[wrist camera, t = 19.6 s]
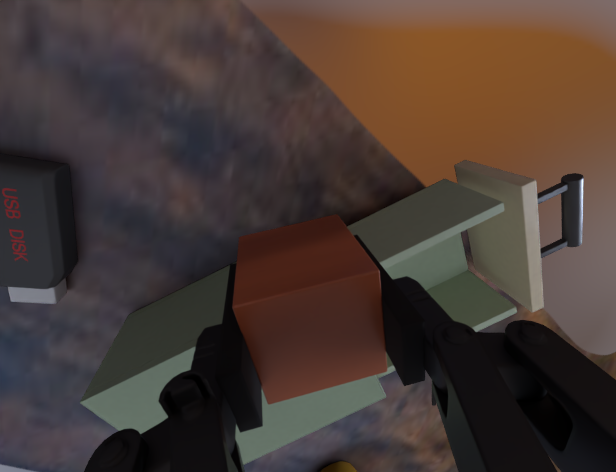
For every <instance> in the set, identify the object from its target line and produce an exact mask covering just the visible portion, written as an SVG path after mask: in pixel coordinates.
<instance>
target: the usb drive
mask: <svg viewBox="0 0 616 472" xmlns="http://www.w3.org/2000/svg"><path fill="white" fill-rule="evenodd" d="M77 262H78V257H77V246H76V235H75V224H74V213H73V202H72V191H71V180H70V170H69V165H68V164H63V163H57V162H51V161H44V160H38V159H32V158H26V157H19V156H13V155H7V154H1V153H0V286H4V287H8V290H9V295H10V300H11V301H12V302H29V303H46V304H56V303H58V302H59V300H60V299H61V298H62V297H63V296H64V295H65V294H66V293H67V287H66V277H67V276H68V275H69V274H70V273H71V272H72V270H73V268H74V267H75V265H76V264H77Z"/></svg>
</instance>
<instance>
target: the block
mask: <svg viewBox="0 0 616 472" xmlns="http://www.w3.org/2000/svg"><path fill="white" fill-rule="evenodd" d="M232 309H233V311H234V314H235V317H236V319H237V322H238V325H239V328H240V330H241V333H242V334H243V337H244V339H245V342H246V345H247V348H248V350H249V353H250V356H251V359H252V361H253V364H254V367H255V370H256V372H257V375H258V378H259V381H260V383H261V386H262V390H263V393H264V396H265V398H266V401H267V403H268V404H269V405H270V404H274V403H277V402H281V401H284V400H288V399H291V398H295V397H299V396H302V395H306V394H309V393H313V392H317V391H320V390H324V389H327V388H331V387H334V386H338V385H342V384H345V383H349V382H352V381H356V380H359V379H363V378H367V377H370V376H374V375H377V374H381V373H384V372H387V371H388V370H387V356H386V345H385V332H384V319H383V306H382V293H381V280H380V270H379V269H378V268H377V266H376V265H375V264H374V262H373V261H372V260H371V258H370V257H369V256H368V254H367V253H366V252H365V250H364V249H363V248H362V246H361V245H360V244H359V242H358V241H357V240H356V238H355V237H354V236H353V234H352V233H351V232H350V230H349V229H348V228H347V226H346V225H345V224H344V222H343V221H342V220H341V219H340V217H339V216H338V215H337V214H336V215H331V216H327V217H323V218H318V219H314V220H310V221H306V222H301V223H297V224H293V225H288V226H284V227H280V228H275V229H271V230H267V231H262V232H258V233H254V234H249V235H245V236H241V237H239V244H238V254H237V264H236V274H235V285H234V295H233V305H232Z"/></svg>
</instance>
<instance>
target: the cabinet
mask: <svg viewBox="0 0 616 472" xmlns="http://www.w3.org/2000/svg"><path fill="white" fill-rule="evenodd" d="M235 263H237V262H235ZM233 264H234V263H233ZM229 269H230V265H229V266H227V267H225V268H223V269H221V270H219V271H217V272H215V273H213V274H211V275H209V276H207V277H204V278H202V279H200V280H198V281H196V282H194V283H192V284H190V285H188V286H186V287H184V288H182V289H180V290H178V291H176V292H174V293H172V294H170V295H168V296H166V297H164V298H162V299H160V300H158V301H156V302H154V303H152V304H150V305H148V306H146V307H144V308H142V309H140V310H138V311H135V312H133V313H131V314H129V315H128V317H127V319H126V320H125V322H124V324H123V326H122V328H121V329H120V331H119V333H118V335H117V337H116V338H115V340H114V342H113V344H112V346H111V347H110V349H109V351H108V353H107V355H106V356H105V358H104V360H103V362H102V364H101V365H100V367H99V369H98V371H97V373H96V374H95V376H94V378H93V380H92V382H91V383H90V385H89V387H88V389H87V390H86V393H85V394H84V396H83V398H82V399H81V401H80V403H81V404H82V405H84V406H85V407H86V408H88V409H89V410H91V411H92V412H93V413H95V414H96V415H98V416H99V417H100V418H102V419H103V420H105V421H106V422H107V423H109V424H110V425H112V426H113V427H114V428H116V429H117V430H119V431H120V430H123V429H129V428H133V429H135V430H137V431H138V432H139V433H140V434H142V433H143V432H145V431H147V430H149V429H150V428H152V427H154V426H156V425H157V424H159V423H161V422H162V421H164V420H165V419H167V418H168V416H167V414H166V413H165V411H164V410H163V408H162V406H161V405H160V403H159V401H158V400H159V396H160V393H161V391H162V390H163V388H164V387H165V385H166V384H167V383H168V382H169V381H170V380H171V379H172V378H173V377H175V376H177V375H178V374H180V373H182V372H185V371H188V370H190V369H191V364H192V360H193V356H194V351H195V347H196V343H197V338H198V337H199V336H200V334H201V333H202V331H203V330H204V328H206V327H210V326H214V325H218V324H222V320H223V313H224V305H225V298H226V291H227V283H228V276H229ZM383 398H386V395H385V393H384V391H383V388H382V386H381V384H380V382H379V380H378V379H377V377H376V375H374V376H370V377H367V378H363V379H359V380H356V381H352V382H349V383H345V384H342V385H338V386H334V387H331V388H327V389H324V390H320V391H317V392H313V393H309V394H306V395H302V396H299V397H295V398H291V399H288V400H284V401H281V402H277V403H274V404H270V405H269V404H268V403H267V401H266V398H265V396H264V393H263V390H262V417H263V426H262V427H259V428H255V429H252V430H248V431H245V432H241V433H240V431H239V429H238V427H237V424H236V436H235V439H236V441H237V443H238V445H239V448H240V453H241V457H242V462H243V465H244V464H246V463H248V462H251V461H253V460H255V459H257V458H259V457H261V456H263V455H265V454H267V453H270V452H272V451H274V450H276V449H278V448H280V447H282V446H284V445H286V444H289V443H291V442H293V441H295V440H297V439H299V438H301V437H303V436H305V435H307V434H310V433H312V432H314V431H316V430H318V429H320V428H322V427H324V426H326V425H329V424H331V423H333V422H335V421H337V420H339V419H341V418H343V417H345V416H348V415H350V414H352V413H354V412H356V411H358V410H360V409H362V408H364V407H367V406H369V405H371V404H373V403H375V402H377V401H379V400H381V399H383Z"/></svg>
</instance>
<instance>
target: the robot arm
mask: <svg viewBox="0 0 616 472" xmlns="http://www.w3.org/2000/svg"><path fill="white" fill-rule="evenodd" d="M353 236H354V237H355V238H356V240H357V241H358V242H359V244H360V245H361V246H362V248H363V249H364V250H365V252H366V253H367V254H368V256H369V257H370V258H371V260H372V261H373V262H374V264H375V265H376V266H377V268H378V269H379V270H380V280H381V293H382V306H383V319H384V332H385V345H386V352H387V354H388V356H389V358H390V360H391V362H392V364H393V366H394V367H395V369H396V371H397V373H398V375H399V377H400V379H401V381H402V382H403V384H404V386H406V385H410V384H414V383H417V382H421V381H424V380H425V370H426V371H427V373H428V374H429V376H430V378H431V379H432V405H436V403H437V406H438V409H439V412H440V415H441V419H442V422H443V425H444V428H445V431H446V434H447V437H448V440H449V443H450V446H451V449H452V453H453V456H454V459H455V462H456V465H457V468H458V471H459V472H557V470H556V469H555V467H554V465H553V463H552V462H551V460H550V458H551V459H552V461H553V462H554V463H555V464H556V465H557V467H558V468H559V469H560V470H561V472H616V380H615V379H614V378H612V377H611V376H610V375H609V374H607V373H606V372H605V371H604V370H602V369H601V368H600V367H598V366H597V365H596V364H595V363H593V362H592V361H591V360H589V359H588V358H587V357H586V356H584V355H583V354H582V353H580V352H579V351H578V350H577V349H575V348H574V347H573V346H571V345H570V344H569V343H568V342H566V341H565V340H564V339H562V338H561V337H560V336H559V335H557V334H556V333H555V332H553V331H552V330H551V329H549V328H547V327H546V326H544V325H542V324H539V323H536V322H533V321H526V320H519V321H513V322H511V323H509V324H508V325H507V327H506V329H505V333H483V332H475V331H474V329H473V328H471V327H469V326H468V325H466V324H464V323H460V322H457V321H454V320H453V319H452V318H451V317H450V316H449V315H448V314H447V313H446V312H445V311H444V310H443V308H442V307H441V306H440V305H439V304H438V303H437V302H436V301H435V300H434V299H433V298H432V297H431V295H430V294H429V293H428V292H427V291H425V289H424V288H423V287H422V286H421V284H420V283H419V282H418V281H416V280H414V279H412V278H410V277H408V276H405V277H401V278H397V279H392V278H391V277H390V276H389V274H388V273H387V272H386V270H385V269H384V268H383V267H382V265H381V264H380V263H379V262H378V260H377V259H376V258H375V256H374V255H373V254H372V253H371V251H370V250H369V249H368V248H367V246H366V245H365V244H364V242H363V241H362V240H361V239H360V237H359V236H358V235H353ZM236 264H237V263H234V264H230V269H229V276H228V283H227V291H226V298H225V305H224V313H223V320H222V324H218V325H214V326H210V327H206V328H204V330H203V331H202V333H201V334H200V336H199V337H198V338H197V343H196V347H195V351H194V356H193V360H192V364H191V369H190V370H188V371H185V372H182V373H180V374H178V375H177V376H175V377H173V378H172V379H171V380H170V381H169V382H168V383H167V384H166V385H165V387H164V388H163V390H162V391H161V393H160V396H159V400H158V401H159V403H160V405H161V406H162V408H163V410H164V411H165V413H166V414H167V416H168V418H167V419H165V420H164V421H162V422H161V423H159V424H157V425H156V426H154V427H152V428H150V429H149V430H147V431H145V432H143V433H142V434H140V433H139V432H138V431H137V430H135V429H133V428H129V429H123V430H120V431H118V432H116V433H114V434H112V435H111V436H110V437H108V438H107V439H106V440H104V441H103V442H102V444H101V445H100V446H99V447H98V448H97V449H96V450H95V452H94V453H93V455H92V457H91V458H90V460H89V462H88V464H87V466H86V469H85V471H84V472H245V471H244V467H243V462H242V457H241V453H240V448H239V445H238V443H237V441H236V439H235V436H236V424H237V427H238V429H239V431H240V433H241V432H245V431H248V430H252V429H255V428H259V427H262V426H263V417H262V386H261V383H260V381H259V378H258V375H257V372H256V370H255V367H254V364H253V361H252V359H251V356H250V353H249V350H248V348H247V345H246V342H245V339H244V337H243V334H242V333H241V330H240V328H239V325H238V322H237V319H236V317H235V314H234V311H233V309H232V305H233V295H234V285H235V274H236ZM547 454H548V455H547ZM549 457H550V458H549Z"/></svg>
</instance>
